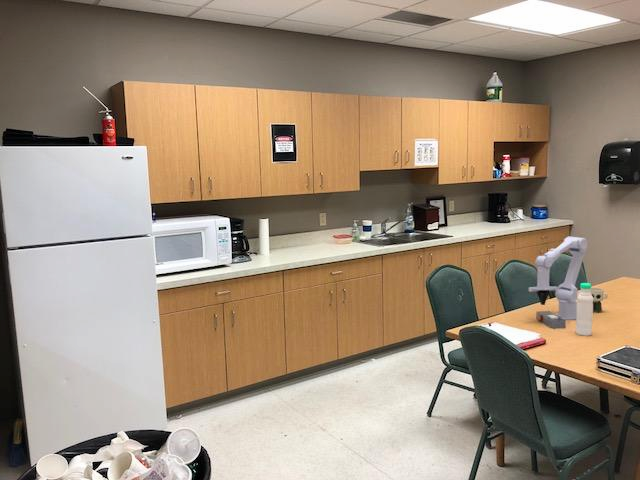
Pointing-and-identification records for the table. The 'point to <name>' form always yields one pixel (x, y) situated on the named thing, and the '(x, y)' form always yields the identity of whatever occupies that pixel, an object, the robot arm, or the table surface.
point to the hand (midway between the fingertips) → (542, 304)
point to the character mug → (597, 298)
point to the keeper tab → (552, 316)
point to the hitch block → (551, 320)
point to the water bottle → (584, 310)
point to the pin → (540, 317)
